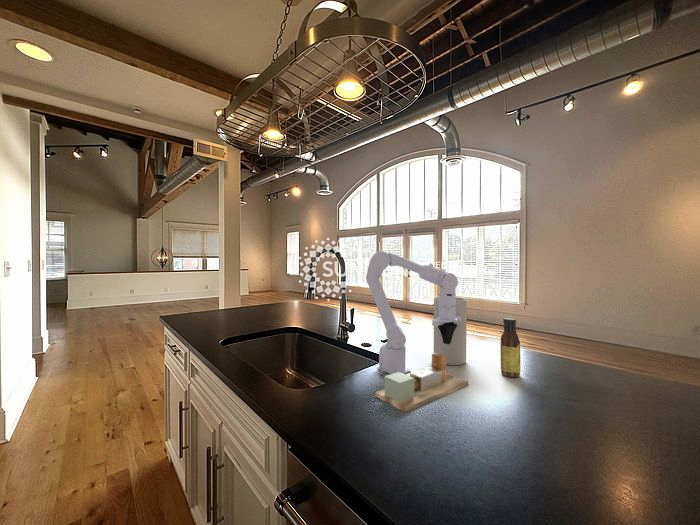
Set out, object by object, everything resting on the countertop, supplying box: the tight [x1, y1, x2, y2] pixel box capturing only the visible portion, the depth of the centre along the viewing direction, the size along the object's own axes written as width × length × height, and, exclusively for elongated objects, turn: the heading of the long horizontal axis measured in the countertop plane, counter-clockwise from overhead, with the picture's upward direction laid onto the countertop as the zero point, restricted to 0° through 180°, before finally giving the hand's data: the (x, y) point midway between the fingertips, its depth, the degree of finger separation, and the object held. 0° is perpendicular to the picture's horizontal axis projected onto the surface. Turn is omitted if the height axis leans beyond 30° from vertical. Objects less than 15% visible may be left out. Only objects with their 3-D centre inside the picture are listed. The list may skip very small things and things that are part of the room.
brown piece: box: [413, 352, 447, 389], centre depth 94 cm, size 4×20×8 cm, turn 128°
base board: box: [374, 373, 469, 413], centre depth 95 cm, size 12×30×1 cm, turn 128°
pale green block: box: [384, 372, 414, 402], centre depth 88 cm, size 6×6×5 cm
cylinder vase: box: [433, 296, 468, 366], centre depth 124 cm, size 12×12×25 cm
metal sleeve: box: [409, 365, 442, 392], centre depth 96 cm, size 4×10×4 cm, turn 128°
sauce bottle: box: [499, 317, 521, 378], centre depth 109 cm, size 6×6×20 cm
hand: (446, 343), depth 111 cm, fingers closed
